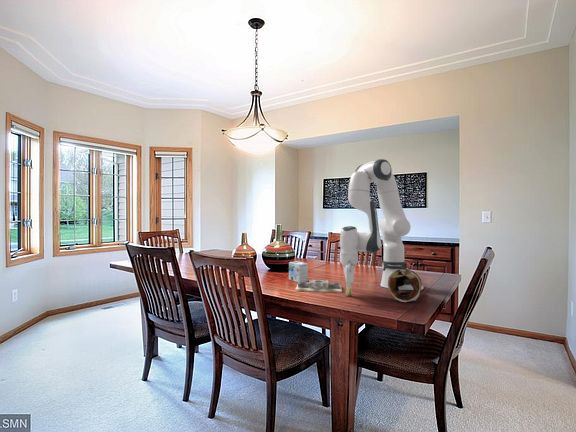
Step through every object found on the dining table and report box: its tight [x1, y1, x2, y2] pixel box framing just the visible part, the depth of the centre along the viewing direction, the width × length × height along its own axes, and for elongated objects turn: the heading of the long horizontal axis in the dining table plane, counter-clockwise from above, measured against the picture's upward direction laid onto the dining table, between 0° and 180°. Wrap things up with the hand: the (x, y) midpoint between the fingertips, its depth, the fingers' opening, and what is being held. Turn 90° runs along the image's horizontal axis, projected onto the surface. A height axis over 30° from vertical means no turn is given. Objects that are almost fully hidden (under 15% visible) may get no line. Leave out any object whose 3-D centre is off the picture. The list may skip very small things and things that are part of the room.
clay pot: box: [387, 268, 423, 303], centre depth 168 cm, size 15×15×25 cm
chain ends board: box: [294, 279, 343, 294], centre depth 182 cm, size 24×12×4 cm, turn 83°
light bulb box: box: [288, 260, 309, 283], centre depth 204 cm, size 11×7×11 cm, turn 37°
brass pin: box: [345, 281, 353, 297], centre depth 168 cm, size 3×3×10 cm
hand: (348, 287), depth 168 cm, fingers closed on brass pin, 3 cm apart
